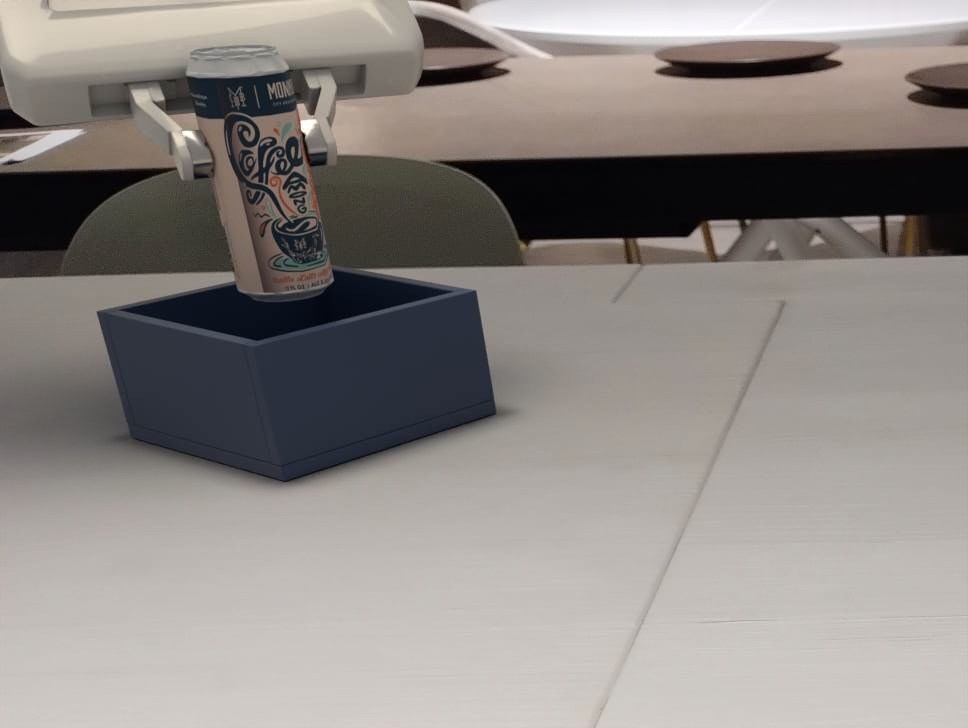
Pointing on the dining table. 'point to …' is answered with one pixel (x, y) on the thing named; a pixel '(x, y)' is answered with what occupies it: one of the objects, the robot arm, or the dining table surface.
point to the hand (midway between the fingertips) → (262, 165)
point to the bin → (300, 370)
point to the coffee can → (260, 171)
